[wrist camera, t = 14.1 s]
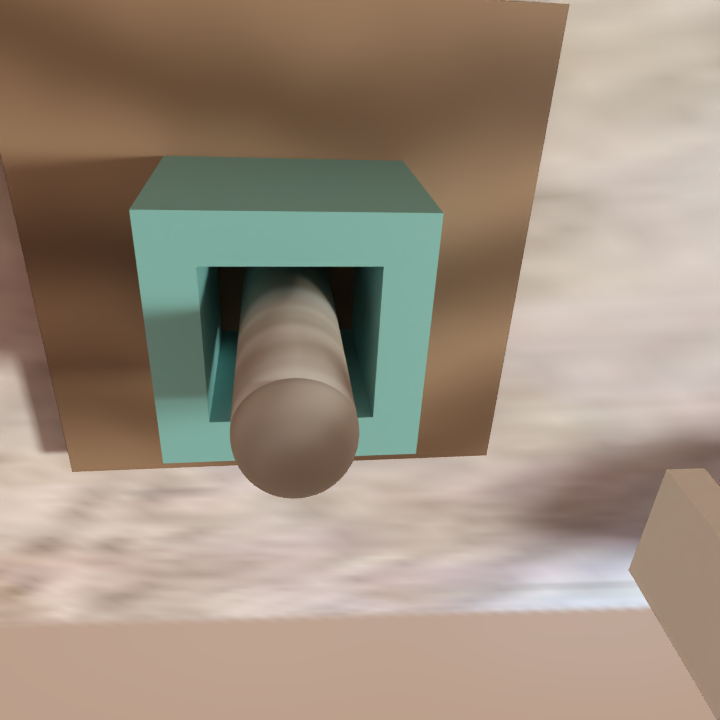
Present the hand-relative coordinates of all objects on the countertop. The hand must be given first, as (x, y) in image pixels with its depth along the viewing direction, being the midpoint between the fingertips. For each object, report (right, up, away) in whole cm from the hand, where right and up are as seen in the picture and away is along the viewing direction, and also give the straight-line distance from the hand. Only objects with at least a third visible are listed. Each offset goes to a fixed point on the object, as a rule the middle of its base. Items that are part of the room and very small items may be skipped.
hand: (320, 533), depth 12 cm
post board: (-2, +7, +13) cm, 15 cm away
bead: (-2, +7, +12) cm, 13 cm away
